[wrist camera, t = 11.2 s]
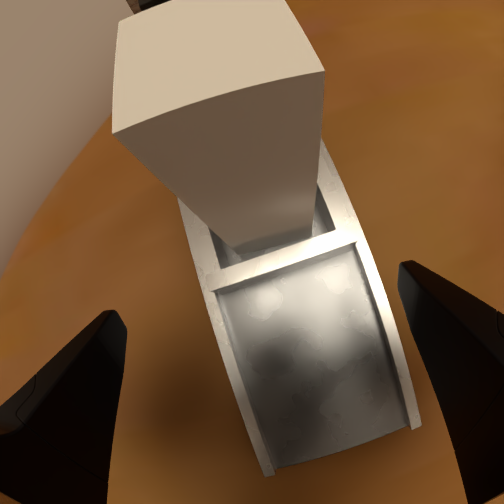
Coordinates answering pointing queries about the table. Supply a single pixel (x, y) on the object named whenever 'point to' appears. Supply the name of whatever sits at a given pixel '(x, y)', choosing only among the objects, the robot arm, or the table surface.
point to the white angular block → (225, 113)
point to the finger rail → (305, 331)
